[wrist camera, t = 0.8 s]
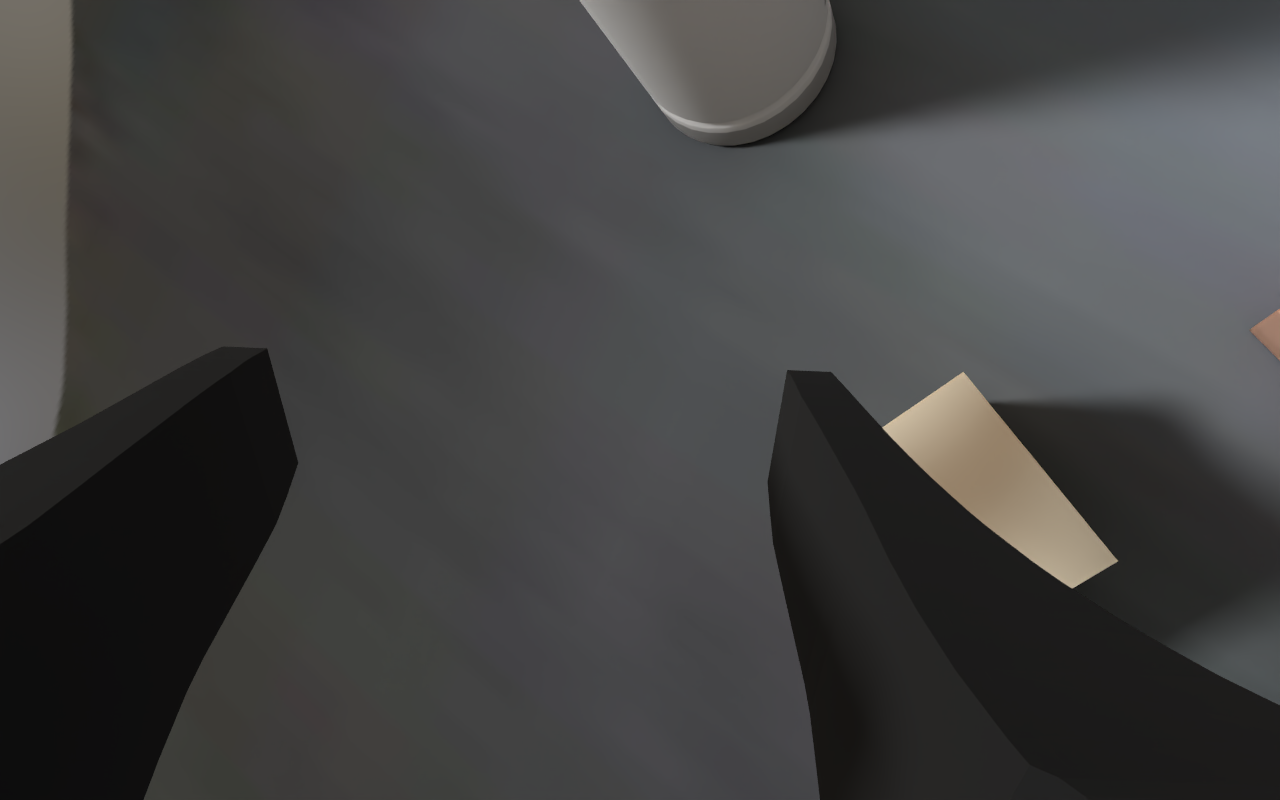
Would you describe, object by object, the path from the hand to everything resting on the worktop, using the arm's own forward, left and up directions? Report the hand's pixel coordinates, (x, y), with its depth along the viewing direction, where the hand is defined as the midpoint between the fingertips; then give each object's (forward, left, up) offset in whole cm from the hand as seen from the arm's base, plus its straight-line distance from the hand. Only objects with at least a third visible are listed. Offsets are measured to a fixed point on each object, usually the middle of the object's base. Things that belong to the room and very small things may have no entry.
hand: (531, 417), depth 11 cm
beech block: (-4, -3, -15) cm, 16 cm away
